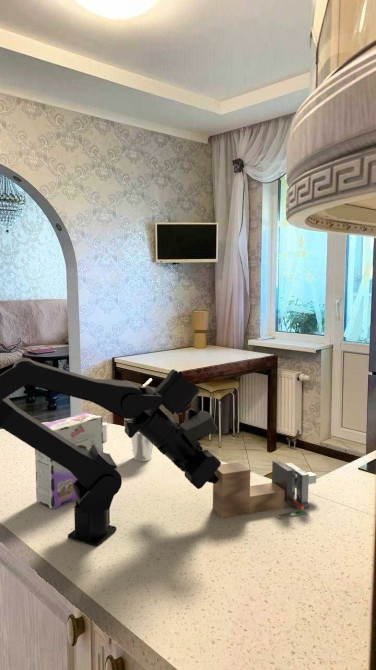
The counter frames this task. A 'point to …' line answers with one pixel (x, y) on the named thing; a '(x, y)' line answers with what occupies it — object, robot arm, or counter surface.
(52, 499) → the candy box
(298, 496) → the gauge housing
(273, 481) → the grey bracket
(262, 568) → the counter surface
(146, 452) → the cup with straw
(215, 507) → the walnut block
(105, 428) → the napkin holder
